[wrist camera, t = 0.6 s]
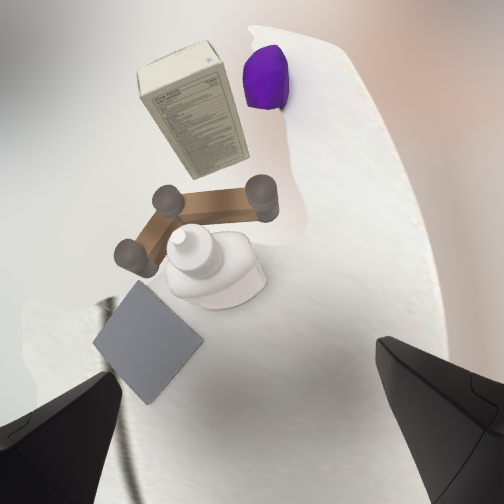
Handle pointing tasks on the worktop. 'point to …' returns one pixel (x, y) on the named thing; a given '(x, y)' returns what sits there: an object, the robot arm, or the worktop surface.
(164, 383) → the coaster
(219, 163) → the skincare box
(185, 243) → the eye dropper bottle
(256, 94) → the purple faceted pebble
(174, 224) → the rail
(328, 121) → the worktop surface
